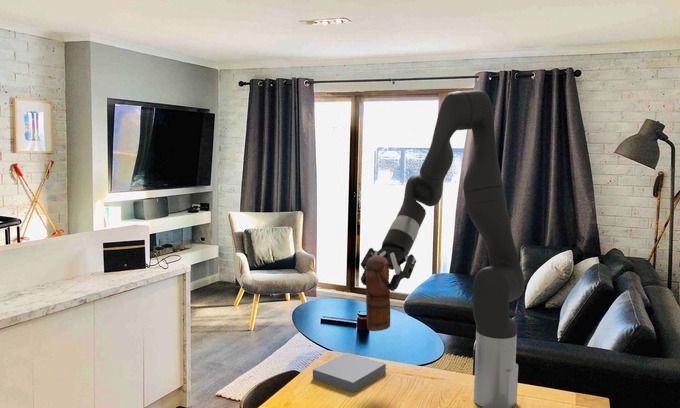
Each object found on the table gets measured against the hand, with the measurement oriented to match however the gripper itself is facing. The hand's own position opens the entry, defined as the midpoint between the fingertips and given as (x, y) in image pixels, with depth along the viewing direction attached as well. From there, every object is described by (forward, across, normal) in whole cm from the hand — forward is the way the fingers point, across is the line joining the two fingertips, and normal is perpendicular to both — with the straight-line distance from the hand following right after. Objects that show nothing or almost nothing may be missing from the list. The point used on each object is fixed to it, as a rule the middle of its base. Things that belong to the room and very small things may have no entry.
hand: (376, 286), depth 142 cm
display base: (+19, -6, +16) cm, 26 cm away
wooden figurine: (+7, +1, +7) cm, 10 cm away
